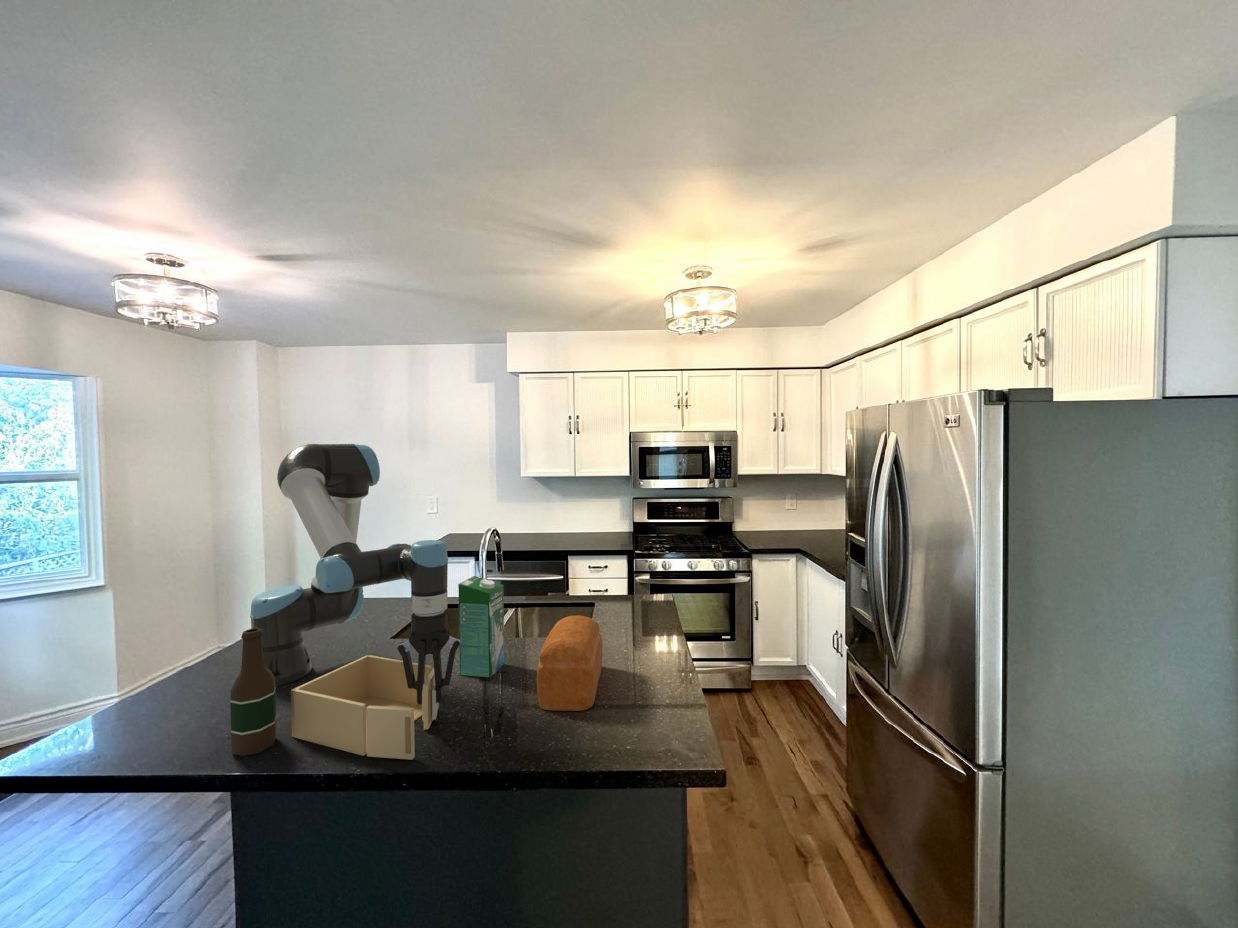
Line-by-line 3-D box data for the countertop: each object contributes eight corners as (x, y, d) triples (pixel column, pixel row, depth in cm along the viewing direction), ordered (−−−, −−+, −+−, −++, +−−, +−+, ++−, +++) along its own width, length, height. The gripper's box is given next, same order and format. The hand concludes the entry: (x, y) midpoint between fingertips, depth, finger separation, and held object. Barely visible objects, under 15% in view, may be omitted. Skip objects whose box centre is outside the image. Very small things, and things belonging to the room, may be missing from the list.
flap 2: (423, 729, 109) (422, 685, 109) (434, 707, 118) (433, 667, 118) (429, 728, 109) (428, 684, 109) (439, 707, 118) (439, 666, 118)
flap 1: (370, 753, 100) (369, 705, 100) (414, 756, 99) (413, 708, 99) (366, 756, 99) (365, 708, 99) (411, 760, 98) (410, 711, 98)
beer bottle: (247, 736, 107) (244, 624, 107) (285, 734, 108) (283, 623, 108) (221, 758, 100) (218, 637, 99) (263, 756, 100) (260, 636, 100)
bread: (604, 665, 142) (603, 609, 142) (593, 712, 116) (593, 644, 116) (555, 664, 143) (554, 609, 143) (534, 711, 117) (533, 643, 117)
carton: (291, 736, 107) (290, 690, 107) (368, 694, 126) (367, 654, 126) (363, 755, 100) (362, 705, 100) (433, 707, 119) (432, 665, 119)
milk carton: (490, 677, 135) (489, 584, 134) (459, 675, 137) (458, 583, 136) (504, 663, 144) (503, 576, 143) (475, 661, 146) (474, 575, 145)
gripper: (390, 619, 106) (391, 729, 107) (462, 614, 110) (462, 722, 110) (398, 608, 114) (398, 712, 114) (464, 604, 117) (464, 705, 117)
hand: (429, 716), depth 112 cm, fingers closed
